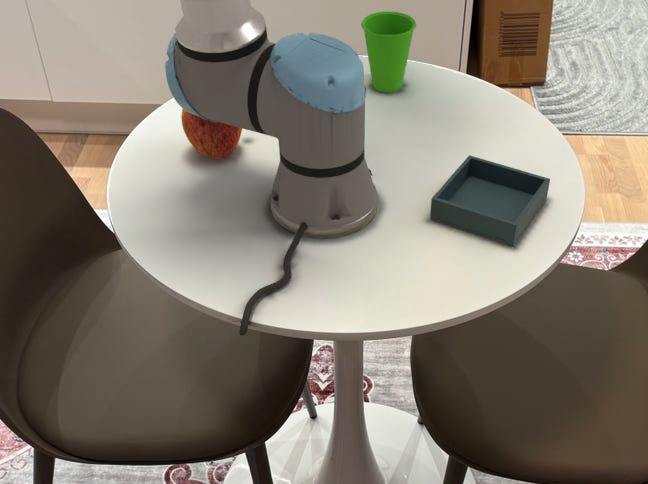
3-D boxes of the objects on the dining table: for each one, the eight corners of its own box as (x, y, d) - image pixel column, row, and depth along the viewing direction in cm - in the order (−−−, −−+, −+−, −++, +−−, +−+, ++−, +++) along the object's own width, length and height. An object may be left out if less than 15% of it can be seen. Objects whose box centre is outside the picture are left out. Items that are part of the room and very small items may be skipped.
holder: (513, 246, 115) (516, 225, 113) (429, 219, 120) (431, 198, 117) (546, 199, 123) (550, 178, 121) (467, 175, 127) (469, 154, 125)
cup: (354, 94, 145) (354, 31, 137) (370, 69, 151) (370, 8, 143) (405, 101, 143) (408, 38, 135) (419, 77, 149) (422, 15, 141)
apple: (184, 169, 128) (174, 109, 121) (190, 138, 135) (180, 79, 127) (244, 168, 129) (237, 108, 121) (247, 136, 135) (240, 77, 128)
